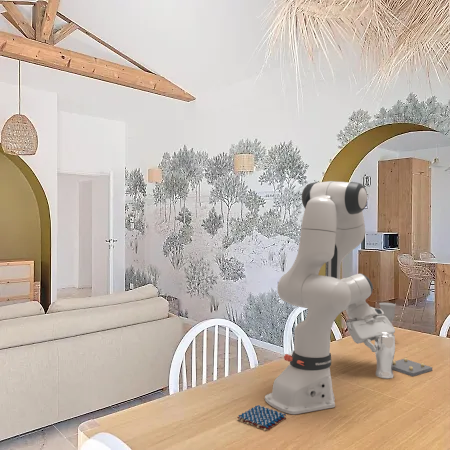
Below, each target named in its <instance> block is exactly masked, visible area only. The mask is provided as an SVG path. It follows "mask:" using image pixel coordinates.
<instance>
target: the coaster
mask: <svg viewBox="0 0 450 450" xmlns="http://www.w3.org/2000/svg"><path fill="white" fill-rule="evenodd" d="M392 370H393V371H396V372H398V373H401V374H404V375H407V376H411V377H416V376H419V375H422V374H426V373H429V372H432V371H433V367H432V366H429V365H426V364H425V363H424V362H421V363H420V362H416V361H413V360H409V359H408V358H407V357H404V358H401V359H398V360H397V359H396V360H393V365H392Z"/></svg>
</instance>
